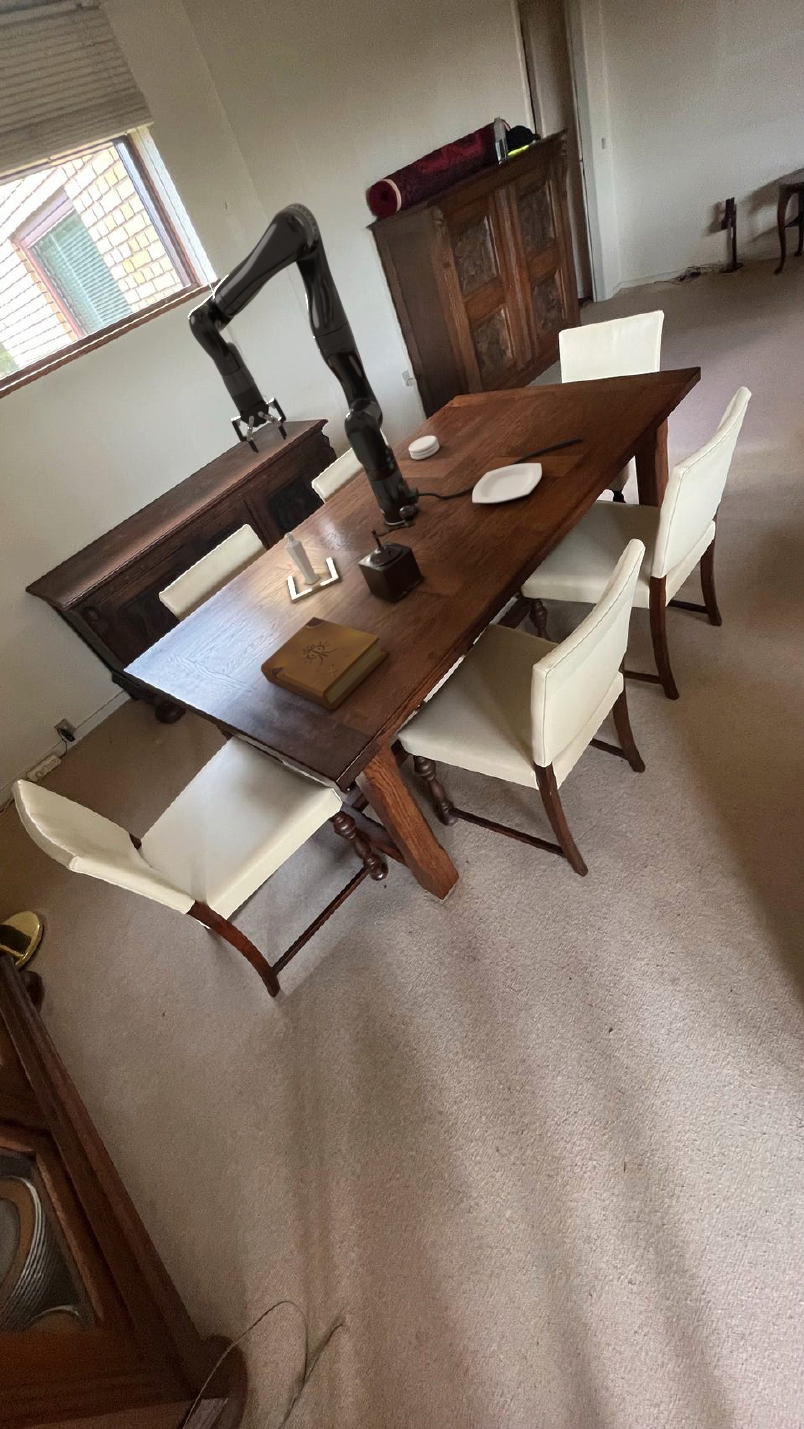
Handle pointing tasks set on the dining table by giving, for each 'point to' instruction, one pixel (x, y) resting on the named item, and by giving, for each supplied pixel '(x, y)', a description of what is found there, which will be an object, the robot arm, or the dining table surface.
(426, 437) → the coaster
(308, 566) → the white faceted vase
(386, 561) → the black coffee grinder
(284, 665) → the diary
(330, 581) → the brass frame
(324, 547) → the dining table surface
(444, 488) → the dining table surface
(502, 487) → the plate
